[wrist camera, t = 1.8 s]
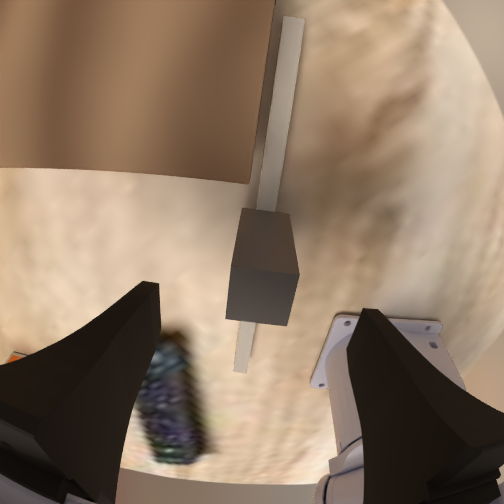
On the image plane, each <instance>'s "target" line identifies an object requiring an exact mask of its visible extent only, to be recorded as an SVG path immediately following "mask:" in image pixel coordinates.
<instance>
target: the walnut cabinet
mask: <svg viewBox="0 0 504 504" xmlns="http://www.w3.org/2000/svg"><path fill="white" fill-rule="evenodd" d="M275 4H276V0H0V168H54V169H80V170H100V171H117V172H131V173H144V174H156V175H168V176H178V177H188V178H198V179H207V180H216V181H225V182H233V183H241V184H249V181H250V175H251V168H252V161H253V153H254V146H255V138H256V131H257V124H258V117H259V109H260V102H261V95H262V88H263V81H264V74H265V67H266V60H267V53H268V46H269V39H270V32H271V25H272V18H273V12H274V5H275Z"/></svg>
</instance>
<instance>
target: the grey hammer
mask: <svg viewBox="0 0 504 504" xmlns="http://www.w3.org/2000/svg"><path fill="white" fill-rule="evenodd" d="M304 23H305V19H302V18H296V17H290V16H284V19H283V22H282V29H281V36H280V43H279V50H278V57H277V64H276V71H275V77H274V84H273V91H272V98H271V105H270V112H269V119H268V126H267V133H266V140H265V147H264V154H263V161H262V168H261V175H260V182H259V189H258V196H257V203H256V209H249V208H242V211H241V216H240V221H239V226H238V232H237V237H236V242H235V247H234V253H233V258H232V264H231V271H230V280H229V289H228V299H227V308H226V318H225V319H230V320H237V321H240V324H239V331H238V338H237V345H236V352H235V361H234V370H233V372H240V373H247V369H248V363H249V358H250V352H251V347H252V341H253V336H254V330H255V325H256V323H262V324H271V325H280V326H287V324H288V320H289V316H290V312H291V308H292V304H293V300H294V296H295V292H296V288H297V284H298V279H299V275H300V274H299V268H298V262H297V256H296V250H295V244H294V238H293V233H292V227H291V221H290V216H289V214H285V213H278V212H275V210H276V204H277V198H278V192H279V186H280V180H281V174H282V167H283V161H284V155H285V149H286V142H287V136H288V130H289V123H290V117H291V111H292V104H293V98H294V91H295V84H296V78H297V71H298V64H299V58H300V51H301V44H302V37H303V30H304Z"/></svg>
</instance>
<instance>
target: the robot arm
mask: <svg viewBox="0 0 504 504" xmlns="http://www.w3.org/2000/svg"><path fill="white" fill-rule="evenodd" d="M346 321H349V322H348V323H345V322H346ZM427 326H428V327H427ZM441 329H442V324H441V322H439V321H425V320H408V319H393V318H386V317H385V316H384V315H383V314H382V313H381V312H380V311H379V310H378V309H368V308H363V309H362V312H361V314H360V316H353V315H337V316H336V317H335V318H334V320H333V323H332V325H331V328H330V331H329V334H328V336H327V339H326V342H325V344H324V347H323V350H322V352H321V355H320V358H319V360H318V363H317V365H316V368H315V370H314V373H313V375H312V378H311V380H310V386H311V387H312V388H322V389H328V390H329V397H330V403H331V410H332V417H333V424H334V431H335V438H336V445H337V453H338V456H337V457H335V458H332V459H330V460H329V469H330V473H329V474H327V475H324V476H323V477H322V478H321V479H320V481H319V482H318V484H317V487H316V490H315V492H314V495H313V498H312V504H504V482H503V483H501V484H499V485H498V483H497V480H496V479H498V478H499V477H500V475H501V474H500V471H499V468H500V467H501V466H502V465H503V464H504V413H503V412H501V411H498V410H496V409H494V408H492V407H491V406H489V405H487V404H485V403H484V402H482V401H480V400H479V399H477V398H475V397H474V396H472V395H470V394H469V393H468V392H466V388H465V385H464V383H463V380H462V378H461V376H460V374H459V372H458V370H457V368H456V366H455V364H454V362H453V360H452V358H451V356H450V355H449V353H448V351H447V349H446V347H445V345H444V343H443V341H442V340H441V338H440V336H439V333H440V331H441ZM160 331H161V314H160V294H159V283H153V282H147V281H142V282H141V283H139V284H138V285H137V286H135V287H134V288H133V289H132V290H130V291H129V292H128V293H127V294H126V295H124V296H123V297H122V298H121V299H119V300H118V301H117V302H116V303H114V304H113V305H112V306H111V307H109V308H108V309H107V310H105V311H104V312H103V313H102V314H100V315H99V316H97V317H96V318H95V319H93V320H92V321H90V322H89V323H88V324H86V325H85V326H83V327H82V328H80V329H79V330H77V331H75V332H74V333H72V334H70V335H69V336H67V337H65V338H64V339H62V340H60V341H58V342H56V343H54V344H52V345H50V346H48V347H46V348H44V349H42V350H40V351H38V352H35V353H33V354H31V355H28V356H26V357H23V358H21V359H18V360H15V361H12V362H9V363H6V364H3V365H0V504H115V498H116V490H117V482H118V474H119V469H120V463H121V457H122V452H123V447H124V442H125V437H126V433H127V429H128V425H129V421H130V417H131V413H132V409H133V406H134V403H135V400H136V398H137V395H138V392H139V390H140V387H141V385H142V382H143V380H144V377H145V375H146V372H147V370H148V368H149V365H150V363H151V360H152V358H153V355H154V353H155V349H156V346H157V342H158V338H159V335H160Z"/></svg>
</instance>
